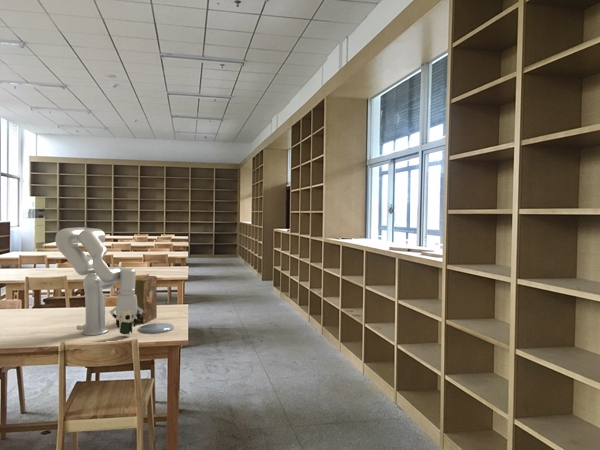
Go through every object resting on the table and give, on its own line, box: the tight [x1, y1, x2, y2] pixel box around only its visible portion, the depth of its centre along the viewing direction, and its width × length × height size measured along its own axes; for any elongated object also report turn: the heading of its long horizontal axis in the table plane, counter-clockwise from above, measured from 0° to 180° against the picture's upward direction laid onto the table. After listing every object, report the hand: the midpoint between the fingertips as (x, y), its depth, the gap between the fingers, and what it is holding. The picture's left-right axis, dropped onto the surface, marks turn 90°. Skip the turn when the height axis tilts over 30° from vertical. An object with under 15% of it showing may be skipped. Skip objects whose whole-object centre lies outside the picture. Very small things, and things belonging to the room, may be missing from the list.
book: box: [135, 275, 158, 324], centre depth 278 cm, size 16×6×25 cm, turn 168°
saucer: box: [138, 322, 175, 334], centre depth 260 cm, size 18×18×1 cm
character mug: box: [116, 310, 134, 335], centre depth 244 cm, size 11×7×13 cm, turn 150°
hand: (126, 326), depth 245 cm, fingers closed on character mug, 7 cm apart
